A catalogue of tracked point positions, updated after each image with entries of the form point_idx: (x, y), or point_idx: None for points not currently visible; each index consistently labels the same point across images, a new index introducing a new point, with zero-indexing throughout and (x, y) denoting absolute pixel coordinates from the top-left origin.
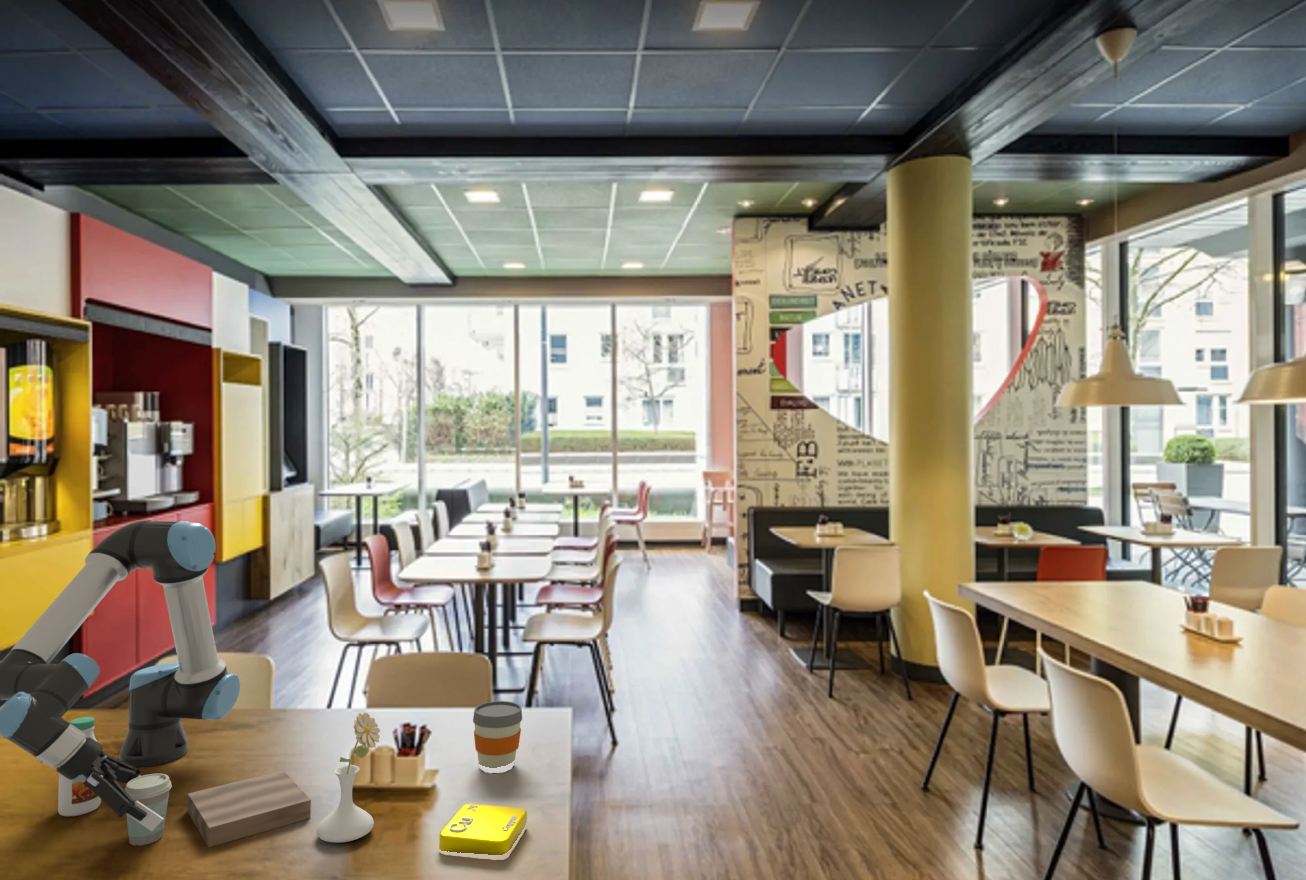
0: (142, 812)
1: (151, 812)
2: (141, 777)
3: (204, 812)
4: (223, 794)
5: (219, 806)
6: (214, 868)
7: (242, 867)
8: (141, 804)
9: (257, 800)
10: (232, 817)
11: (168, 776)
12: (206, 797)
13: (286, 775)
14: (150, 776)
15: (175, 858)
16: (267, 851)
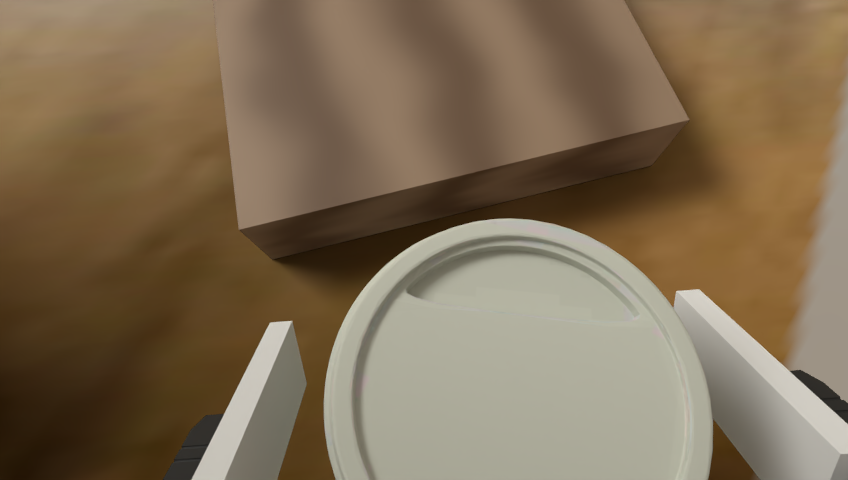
0: (835, 397)
1: (753, 344)
2: (365, 467)
3: (511, 147)
4: (338, 89)
5: (469, 96)
6: (828, 139)
7: (836, 64)
8: (819, 410)
9: None
10: (608, 47)
11: (470, 223)
12: (335, 150)
13: None
14: (377, 380)
15: (713, 269)
16: (735, 6)
